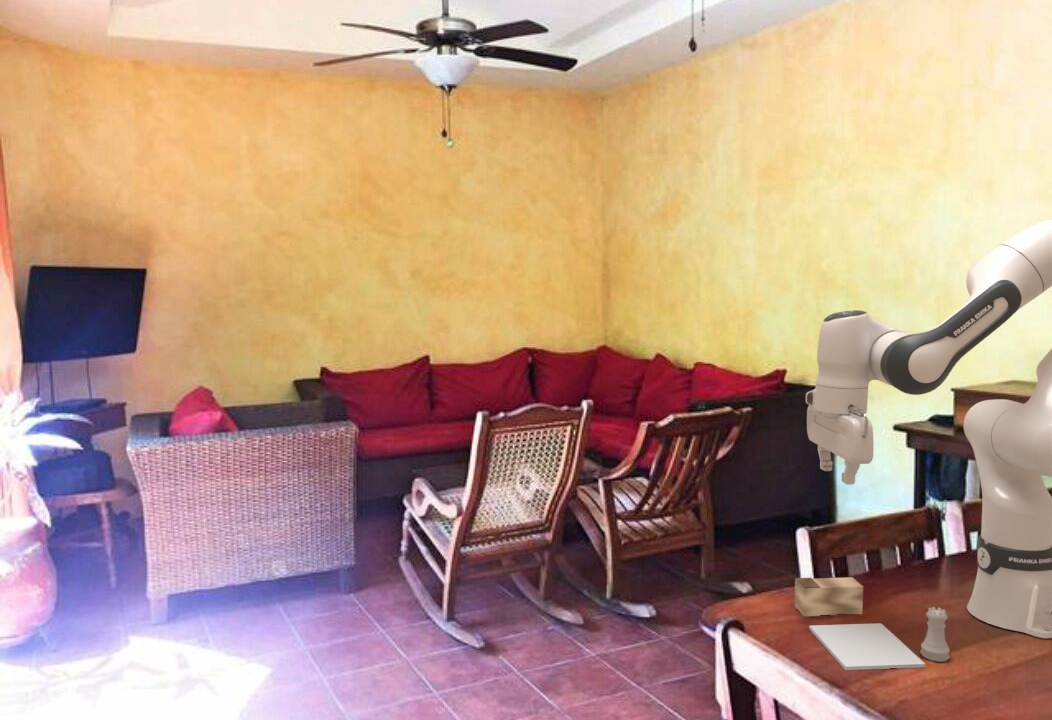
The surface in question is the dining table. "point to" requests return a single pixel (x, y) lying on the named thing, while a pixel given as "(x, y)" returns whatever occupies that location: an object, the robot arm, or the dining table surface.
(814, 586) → the maple block
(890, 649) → the rubber mat
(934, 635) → the rook chess piece
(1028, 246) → the robot arm
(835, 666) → the dining table surface
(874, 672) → the dining table surface
